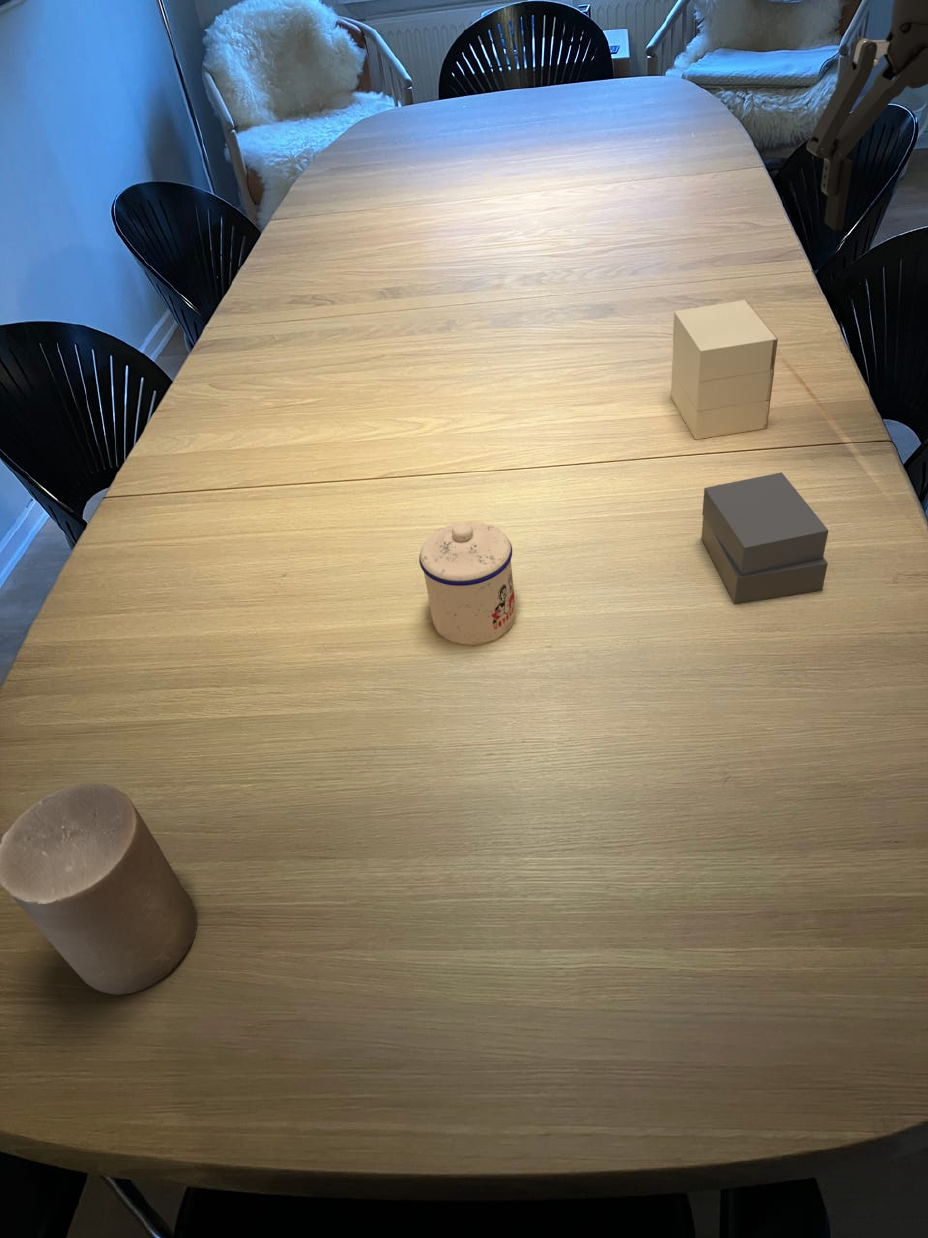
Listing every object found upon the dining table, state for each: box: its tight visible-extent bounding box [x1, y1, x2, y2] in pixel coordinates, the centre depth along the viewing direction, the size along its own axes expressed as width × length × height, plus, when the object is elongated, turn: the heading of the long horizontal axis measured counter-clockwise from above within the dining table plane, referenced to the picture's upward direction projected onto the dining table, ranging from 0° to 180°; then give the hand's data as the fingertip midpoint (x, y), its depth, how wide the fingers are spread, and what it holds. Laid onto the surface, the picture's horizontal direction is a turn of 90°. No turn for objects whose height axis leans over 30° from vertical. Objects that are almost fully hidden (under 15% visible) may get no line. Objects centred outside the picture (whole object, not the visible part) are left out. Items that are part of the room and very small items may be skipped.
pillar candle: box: [0, 782, 198, 996], centre depth 67 cm, size 10×10×15 cm
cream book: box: [672, 299, 779, 382], centre depth 112 cm, size 9×11×4 cm
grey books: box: [700, 472, 829, 605], centre depth 94 cm, size 9×11×7 cm
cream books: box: [670, 341, 775, 440], centre depth 116 cm, size 9×11×8 cm
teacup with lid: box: [418, 521, 517, 646], centre depth 92 cm, size 12×9×12 cm
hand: (898, 215), depth 94 cm, fingers open, 13 cm apart
